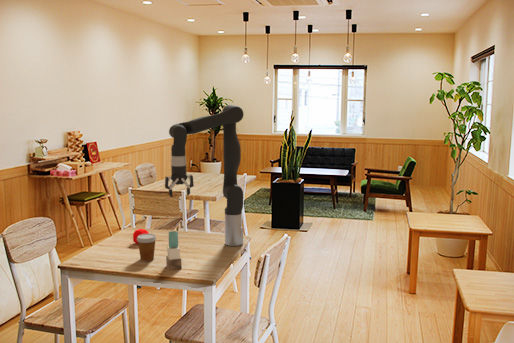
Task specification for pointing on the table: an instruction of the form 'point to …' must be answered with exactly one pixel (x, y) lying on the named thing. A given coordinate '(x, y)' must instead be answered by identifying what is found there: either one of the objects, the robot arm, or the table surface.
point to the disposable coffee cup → (146, 246)
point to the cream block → (173, 252)
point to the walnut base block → (173, 264)
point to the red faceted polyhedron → (139, 232)
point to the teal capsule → (173, 239)
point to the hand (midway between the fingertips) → (179, 195)
